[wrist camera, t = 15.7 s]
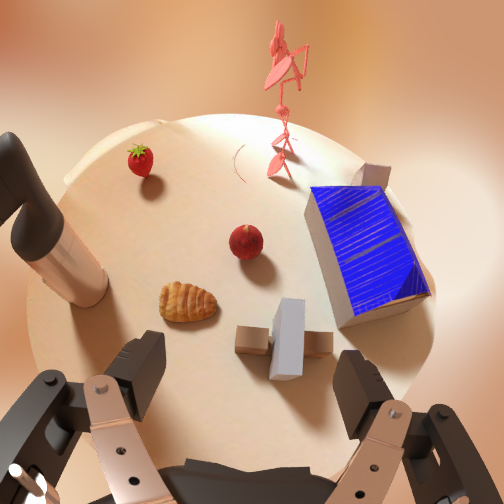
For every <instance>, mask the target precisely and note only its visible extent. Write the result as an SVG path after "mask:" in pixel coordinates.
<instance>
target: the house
mask: <svg viewBox="0 0 504 504" xmlns="http://www.w3.org/2000/svg"><path fill="white" fill-rule="evenodd" d="M310 188H311V193H310V197H309V200H308V203H307V206H306V209H305V212H304V217H305V220H306V223H307V226H308V229H309V232H310V235H311V238H312V241H313V244H314V248H315V251H316V254H317V257H318V261H319V264H320V267H321V271H322V274H323V277H324V281H325V284H326V288H327V291H328V295H329V299H330V302H331V306H332V310H333V313H334V317H335V321H336V325H337V329H341V328H346V327H350V326H354V325H358V324H363V323H367V322H371V321H374V320H378V319H382V318H386V317H389V316H393V315H396V314H400V313H403V312H407V311H408V310H410V309H411V308H413V307H414V306H416V305H417V304H419V303H420V302H421V301H423V300H424V299H426V298H427V297H428V296H431V293H430V290H429V288H428V285H427V282H426V280H425V277H424V275H423V272H422V270H421V267H420V265H419V262H418V260H417V258H416V255H415V253H414V251H413V249H412V246H411V244H410V242H409V240H408V238H407V236H406V233H405V231H404V229H403V227H402V225H401V223H400V221H399V219H398V217H397V215H396V213H395V211H394V209H393V207H392V206H391V204H390V202H389V200H388V198H387V196H386V195H385V193H384V191H383V189H382V187H381V186H323V187H310ZM431 297H432V296H431Z"/></svg>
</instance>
